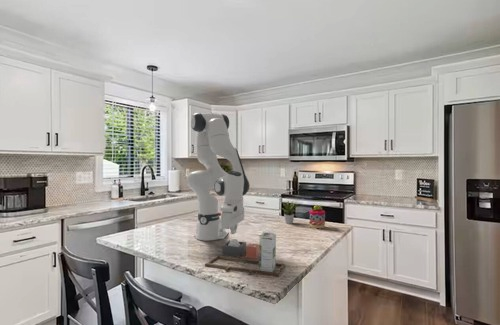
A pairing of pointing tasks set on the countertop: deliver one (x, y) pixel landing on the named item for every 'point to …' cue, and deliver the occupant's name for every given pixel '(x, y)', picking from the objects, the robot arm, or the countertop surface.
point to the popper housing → (234, 249)
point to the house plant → (289, 212)
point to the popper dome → (234, 243)
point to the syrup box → (267, 252)
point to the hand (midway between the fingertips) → (233, 233)
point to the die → (252, 250)
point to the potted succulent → (317, 217)
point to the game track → (243, 268)
